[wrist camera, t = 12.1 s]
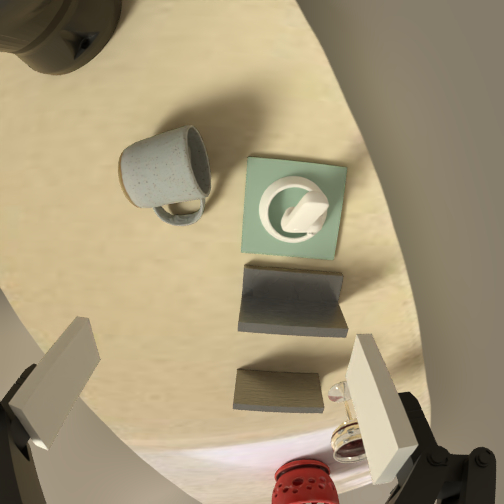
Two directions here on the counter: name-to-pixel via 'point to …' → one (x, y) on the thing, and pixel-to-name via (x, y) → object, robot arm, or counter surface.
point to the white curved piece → (296, 209)
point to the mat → (264, 175)
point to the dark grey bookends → (287, 333)
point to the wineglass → (346, 430)
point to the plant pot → (304, 484)
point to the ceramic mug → (167, 173)
